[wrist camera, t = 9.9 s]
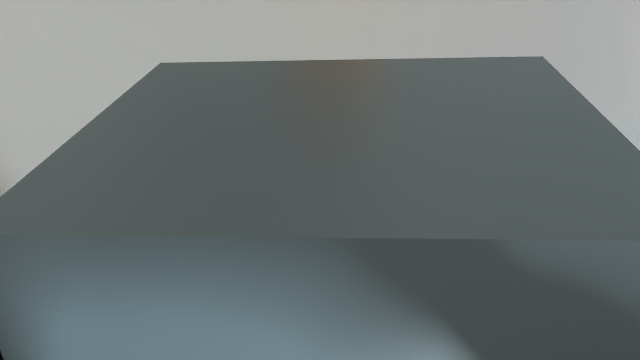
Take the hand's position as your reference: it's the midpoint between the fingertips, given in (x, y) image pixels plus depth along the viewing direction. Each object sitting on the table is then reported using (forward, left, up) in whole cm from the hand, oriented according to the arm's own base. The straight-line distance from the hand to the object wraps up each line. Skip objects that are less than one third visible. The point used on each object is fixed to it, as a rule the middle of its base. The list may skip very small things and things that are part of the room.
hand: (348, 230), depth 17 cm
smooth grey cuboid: (0, 0, -1) cm, 1 cm away
